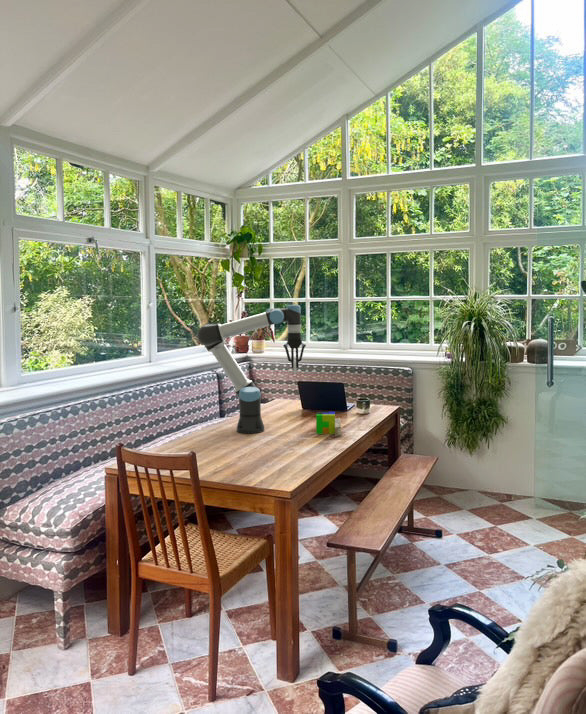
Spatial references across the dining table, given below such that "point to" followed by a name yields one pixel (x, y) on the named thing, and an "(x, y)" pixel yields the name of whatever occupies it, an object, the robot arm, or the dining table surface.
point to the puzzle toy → (325, 423)
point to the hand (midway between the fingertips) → (295, 373)
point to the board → (337, 427)
